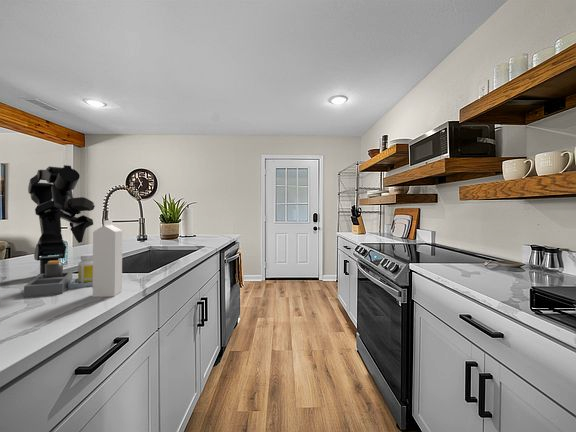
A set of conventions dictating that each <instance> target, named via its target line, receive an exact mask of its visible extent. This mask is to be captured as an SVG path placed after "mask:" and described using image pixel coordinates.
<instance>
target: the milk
mask: <svg viewBox="0 0 576 432" xmlns="http://www.w3.org/2000/svg"><path fill="white" fill-rule="evenodd" d="M92 254H93V286H92V297H93V298H100V297H101V298H102V297H105V298H106V297H107V298H108V297H116V296H118V295H119V294H120V293H121V292H123V230H122V229H120V228H118V227H117V226H115V225H113V220H112V219H109V220H108V219H107V220H103V225H102V226H100V227H99V228H97V229H95V230H93V232H92Z"/></svg>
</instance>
